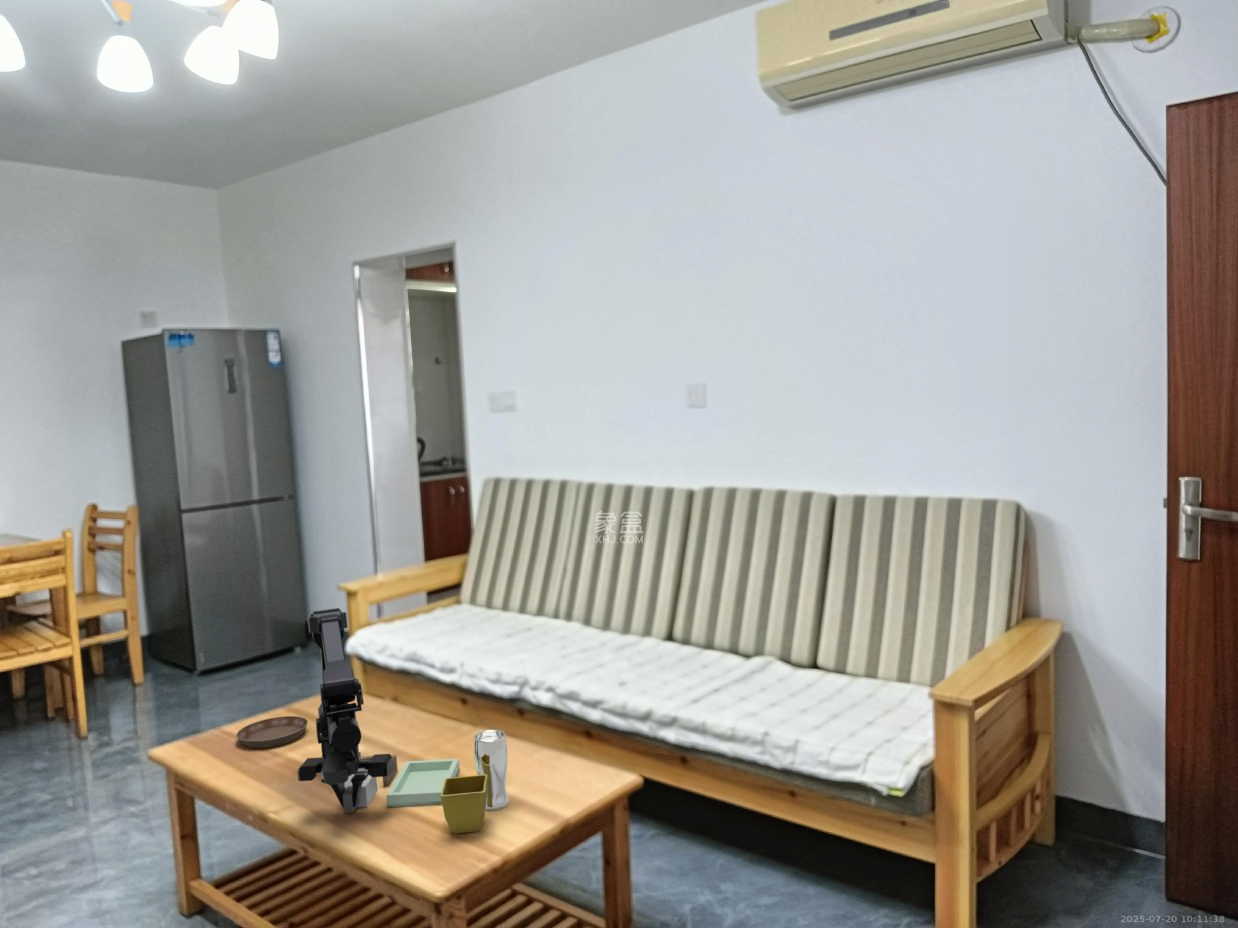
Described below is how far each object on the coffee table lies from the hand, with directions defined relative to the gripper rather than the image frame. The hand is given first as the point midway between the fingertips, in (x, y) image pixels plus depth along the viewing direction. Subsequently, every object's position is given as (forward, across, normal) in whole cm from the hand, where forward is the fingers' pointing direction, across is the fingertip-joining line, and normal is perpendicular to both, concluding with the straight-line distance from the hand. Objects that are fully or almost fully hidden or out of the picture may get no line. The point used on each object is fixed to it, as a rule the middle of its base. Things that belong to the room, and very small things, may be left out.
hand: (349, 805), depth 193 cm
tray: (+2, +14, +11) cm, 18 cm away
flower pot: (+2, +26, -9) cm, 28 cm away
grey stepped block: (+2, 0, +5) cm, 6 cm away
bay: (+2, 0, +17) cm, 17 cm away
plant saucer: (+2, -34, +47) cm, 59 cm away
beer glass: (+2, +30, +1) cm, 31 cm away
